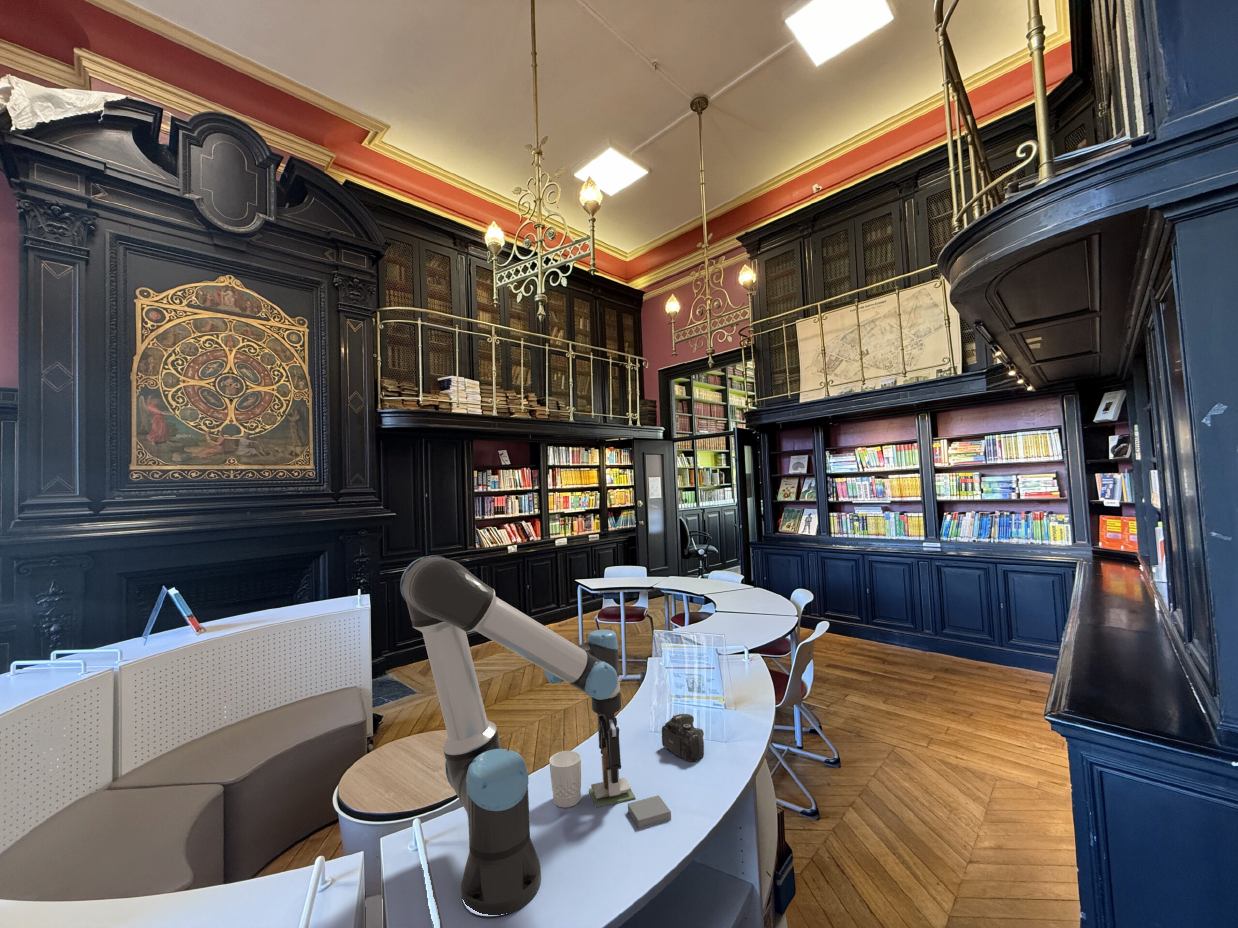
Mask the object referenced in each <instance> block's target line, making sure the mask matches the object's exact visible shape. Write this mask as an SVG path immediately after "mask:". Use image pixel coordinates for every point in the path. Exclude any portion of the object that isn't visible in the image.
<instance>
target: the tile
mask: <svg viewBox="0 0 1238 928" xmlns="http://www.w3.org/2000/svg"><path fill="white" fill-rule="evenodd" d="M627 811H628V813H629V815H630V817H631V819H632V820H633V821H634V823H635V825H636V826H637V829H643V828H646V827H650V826H654V825H657V824H660V823H664V822H667V821H672V811H671V810H670V808H669V807H668V806H667V804H666V803H665V802H664V801H663V799H662V797H661V796H660V795H658V794H657V795H655V796H651V797H650V796H649V797H646V798H643V799H640V800H635V801H632V802H628V803H627Z"/></svg>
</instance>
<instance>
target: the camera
mask: <svg viewBox="0 0 1238 928" xmlns="http://www.w3.org/2000/svg"><path fill="white" fill-rule="evenodd" d="M694 721H695V719H694V716H693V715H692V714H688V713H679V714H674V715H672V717H671V719H670V720H668V721H666V722H665V723H664V725H663V726H661V745H662V746H663V748H665V749H667V750H668V751H670V752H671V753H673V754H674V755H676V756H678V757H679V758H683V759H685V760H686V761H687V762H688V761H689V762H696V761H699V760H701V759H703V757H704V756H705V743H704V742H705V741H704V735H705V733H704V730H703V729H702V728H698V727H695V726H694Z"/></svg>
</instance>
